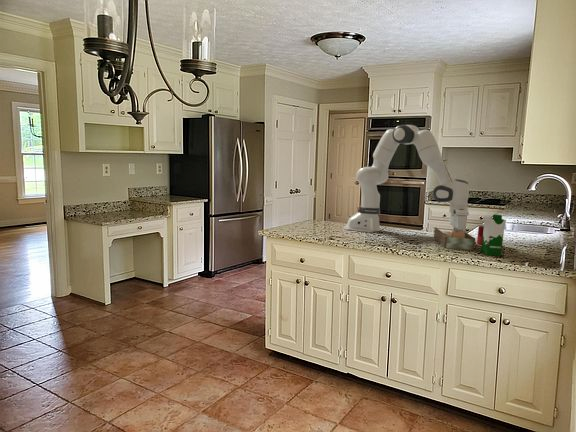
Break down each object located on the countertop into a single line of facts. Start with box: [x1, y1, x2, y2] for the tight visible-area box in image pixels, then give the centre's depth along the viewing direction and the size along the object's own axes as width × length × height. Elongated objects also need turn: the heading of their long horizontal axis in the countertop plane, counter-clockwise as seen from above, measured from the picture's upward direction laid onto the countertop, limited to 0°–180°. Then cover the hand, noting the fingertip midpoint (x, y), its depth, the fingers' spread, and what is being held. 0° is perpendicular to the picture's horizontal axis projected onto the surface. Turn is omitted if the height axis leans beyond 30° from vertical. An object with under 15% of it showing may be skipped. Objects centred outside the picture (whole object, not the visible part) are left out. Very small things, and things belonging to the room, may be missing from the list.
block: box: [451, 230, 464, 238], centre depth 230 cm, size 5×5×4 cm
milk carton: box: [480, 214, 507, 257], centre depth 216 cm, size 9×9×20 cm
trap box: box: [433, 226, 476, 251], centre depth 239 cm, size 15×28×6 cm, turn 172°
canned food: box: [476, 223, 484, 246], centre depth 239 cm, size 8×8×11 cm
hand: (455, 235), depth 235 cm, fingers closed
